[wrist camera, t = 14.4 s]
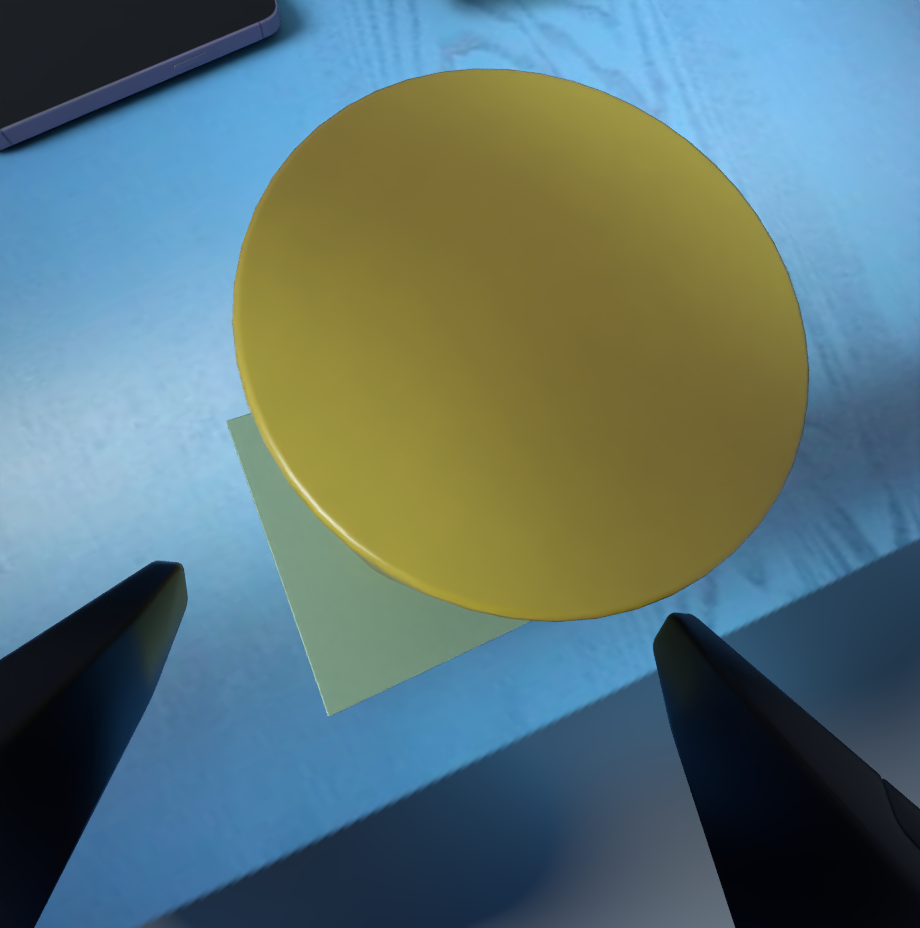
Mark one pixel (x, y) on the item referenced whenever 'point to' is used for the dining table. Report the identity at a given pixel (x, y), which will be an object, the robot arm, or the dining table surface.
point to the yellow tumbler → (520, 345)
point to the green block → (350, 595)
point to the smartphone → (109, 52)
